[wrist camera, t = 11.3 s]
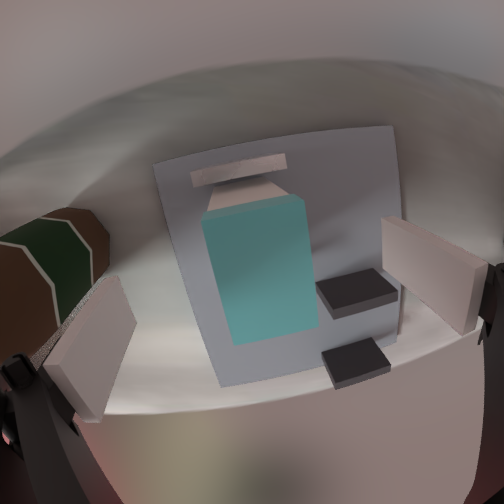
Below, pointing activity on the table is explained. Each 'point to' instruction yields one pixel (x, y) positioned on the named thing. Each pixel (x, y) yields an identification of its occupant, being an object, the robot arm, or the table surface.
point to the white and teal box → (261, 259)
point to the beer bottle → (47, 275)
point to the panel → (320, 233)
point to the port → (238, 168)
